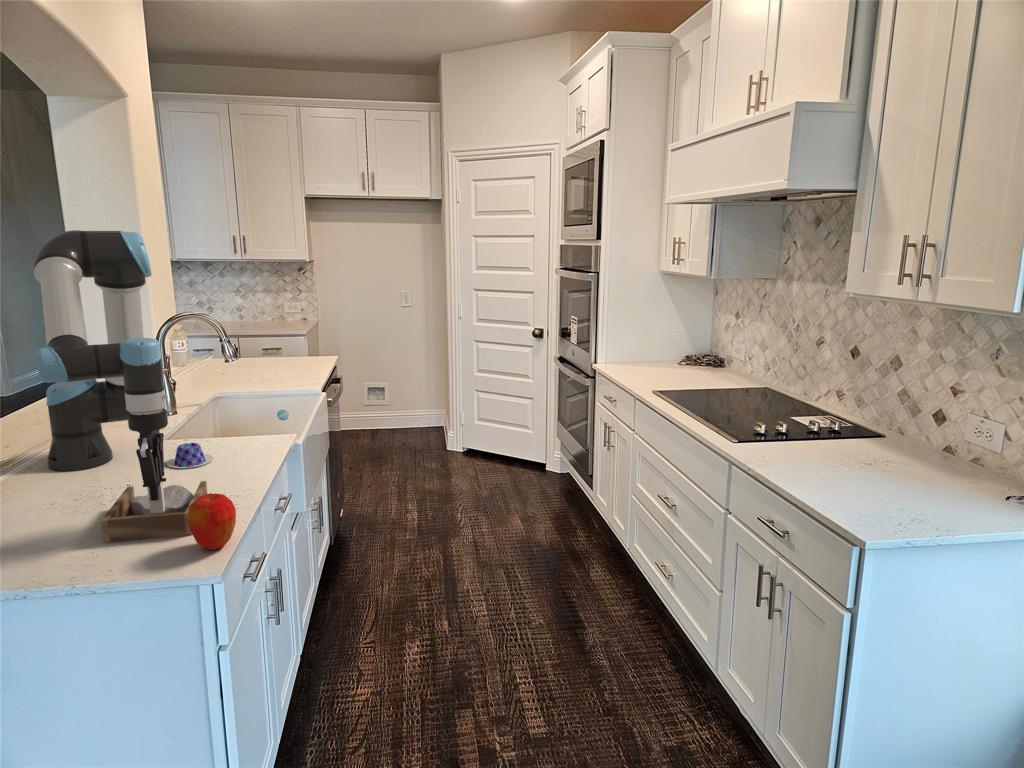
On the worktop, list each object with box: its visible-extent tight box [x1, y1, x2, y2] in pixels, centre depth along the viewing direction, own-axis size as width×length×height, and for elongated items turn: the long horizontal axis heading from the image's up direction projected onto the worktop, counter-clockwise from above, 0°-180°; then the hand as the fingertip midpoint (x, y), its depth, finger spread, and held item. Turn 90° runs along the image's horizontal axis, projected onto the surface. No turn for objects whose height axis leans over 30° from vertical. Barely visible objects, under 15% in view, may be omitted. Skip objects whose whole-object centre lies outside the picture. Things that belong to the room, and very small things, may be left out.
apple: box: [187, 492, 237, 550], centre depth 134 cm, size 9×9×12 cm
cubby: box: [100, 480, 208, 544], centre depth 147 cm, size 19×17×5 cm
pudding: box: [165, 442, 214, 469], centre depth 184 cm, size 12×12×5 cm
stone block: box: [131, 484, 194, 516], centre depth 153 cm, size 12×5×10 cm
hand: (157, 511), depth 146 cm, fingers closed
